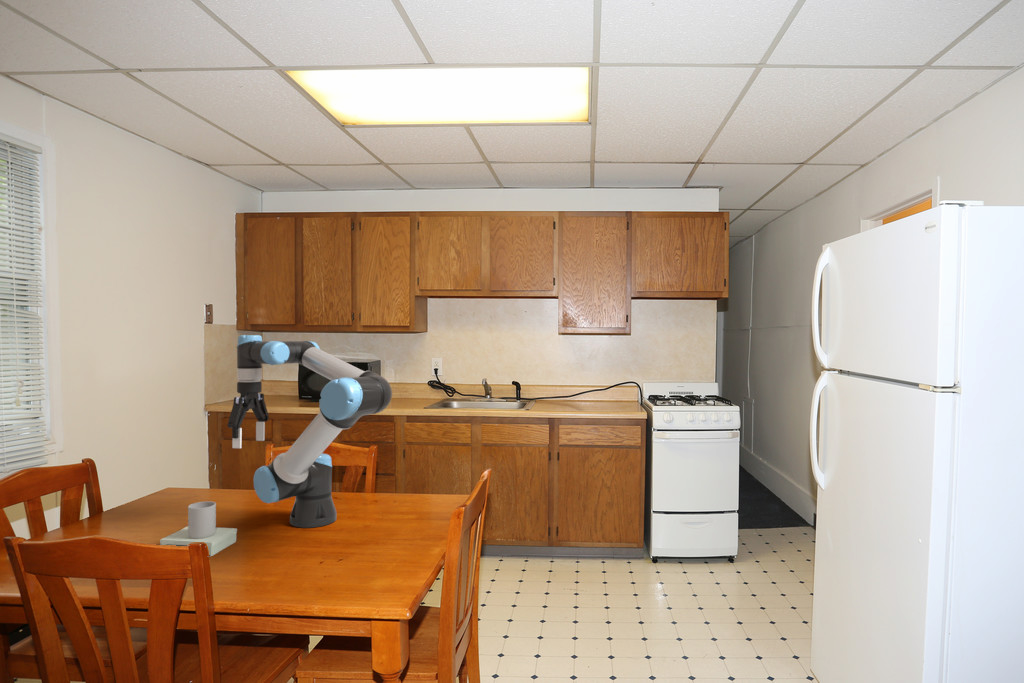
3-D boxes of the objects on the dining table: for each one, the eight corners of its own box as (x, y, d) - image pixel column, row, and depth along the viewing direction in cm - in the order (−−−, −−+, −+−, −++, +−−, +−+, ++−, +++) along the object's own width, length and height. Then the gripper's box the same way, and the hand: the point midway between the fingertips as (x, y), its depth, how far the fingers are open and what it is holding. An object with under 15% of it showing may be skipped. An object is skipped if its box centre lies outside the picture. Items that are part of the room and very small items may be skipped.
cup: (193, 541, 163) (193, 510, 163) (181, 532, 170) (181, 503, 170) (219, 534, 168) (219, 504, 168) (206, 527, 175) (207, 498, 175)
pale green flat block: (236, 541, 174) (236, 528, 174) (211, 556, 162) (211, 542, 162) (188, 538, 176) (188, 526, 176) (160, 553, 164) (160, 539, 164)
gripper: (259, 378, 203) (259, 437, 203) (215, 383, 178) (215, 451, 178) (279, 378, 202) (279, 438, 202) (237, 384, 177) (237, 451, 178)
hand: (249, 444), depth 190 cm, fingers open, 13 cm apart
